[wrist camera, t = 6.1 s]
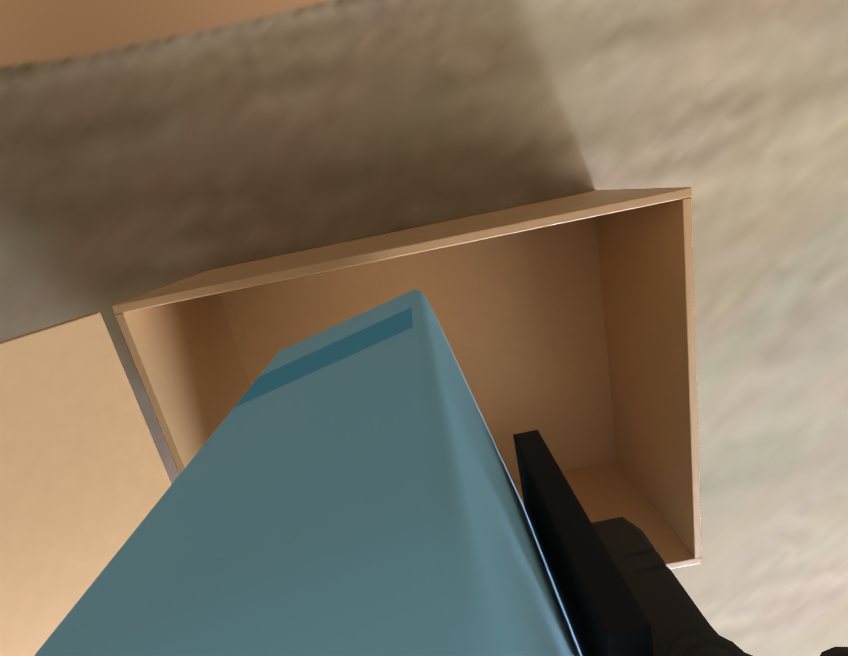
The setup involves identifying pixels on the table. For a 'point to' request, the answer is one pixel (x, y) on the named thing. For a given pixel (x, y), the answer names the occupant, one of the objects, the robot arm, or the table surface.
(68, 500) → the flap
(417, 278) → the carton
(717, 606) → the table surface
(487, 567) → the light blue flat block
